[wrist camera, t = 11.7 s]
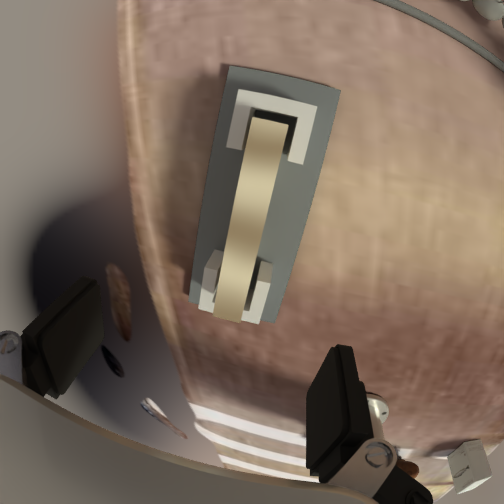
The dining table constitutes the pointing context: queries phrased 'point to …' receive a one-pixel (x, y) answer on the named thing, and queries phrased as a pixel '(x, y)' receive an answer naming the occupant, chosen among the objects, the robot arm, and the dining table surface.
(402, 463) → the decorative turtle
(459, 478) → the supplement box
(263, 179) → the slat
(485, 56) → the newton's cradle
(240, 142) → the frame
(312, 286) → the dining table surface
